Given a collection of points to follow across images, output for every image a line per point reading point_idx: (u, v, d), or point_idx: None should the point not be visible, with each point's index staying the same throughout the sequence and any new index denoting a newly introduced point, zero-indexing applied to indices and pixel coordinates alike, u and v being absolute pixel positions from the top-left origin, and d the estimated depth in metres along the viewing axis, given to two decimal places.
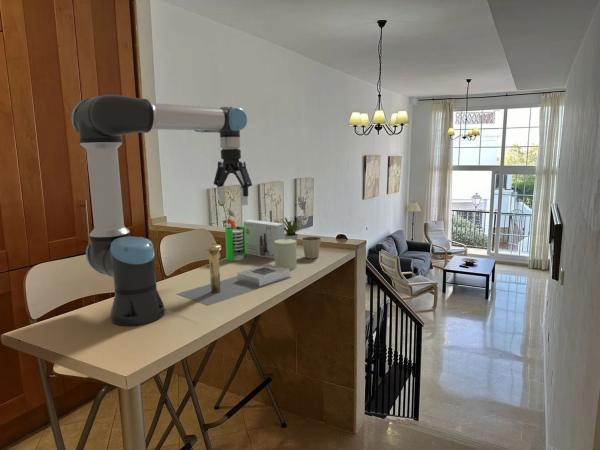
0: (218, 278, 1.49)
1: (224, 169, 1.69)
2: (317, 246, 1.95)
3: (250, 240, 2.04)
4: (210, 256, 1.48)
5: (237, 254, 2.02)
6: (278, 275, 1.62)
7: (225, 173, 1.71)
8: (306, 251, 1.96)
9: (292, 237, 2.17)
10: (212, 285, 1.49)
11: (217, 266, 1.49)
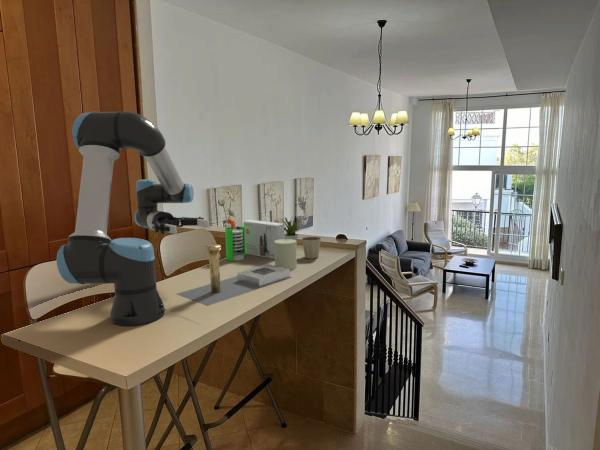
0: (218, 278, 1.49)
1: (166, 219, 1.62)
2: (317, 246, 1.95)
3: (250, 240, 2.04)
4: (210, 256, 1.48)
5: (237, 254, 2.02)
6: (278, 275, 1.62)
7: (167, 223, 1.61)
8: (306, 251, 1.96)
9: (292, 237, 2.17)
10: (212, 285, 1.49)
11: (217, 266, 1.49)
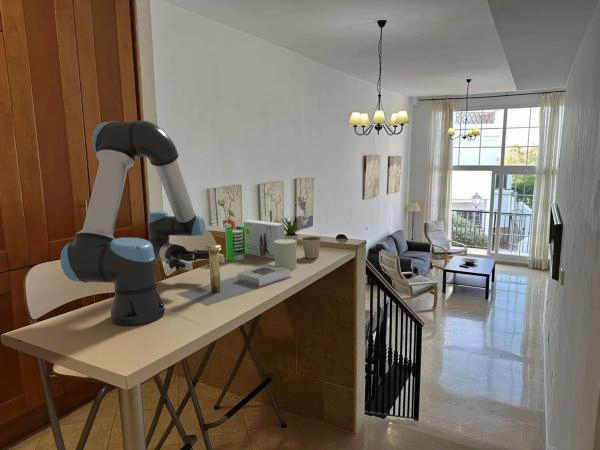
0: (218, 278, 1.49)
1: (180, 253, 1.60)
2: (317, 246, 1.95)
3: (250, 240, 2.04)
4: (210, 256, 1.48)
5: (237, 254, 2.02)
6: (278, 275, 1.62)
7: (181, 257, 1.59)
8: (306, 251, 1.96)
9: (292, 237, 2.17)
10: (212, 285, 1.49)
11: (217, 266, 1.49)
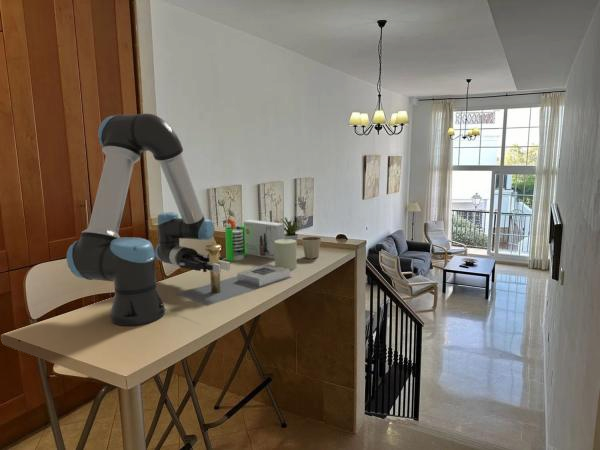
0: (218, 278, 1.49)
1: (194, 256, 1.55)
2: (317, 246, 1.95)
3: (250, 240, 2.04)
4: (210, 256, 1.48)
5: (237, 254, 2.02)
6: (278, 275, 1.62)
7: None
8: (306, 251, 1.96)
9: (292, 237, 2.17)
10: (212, 285, 1.49)
11: None
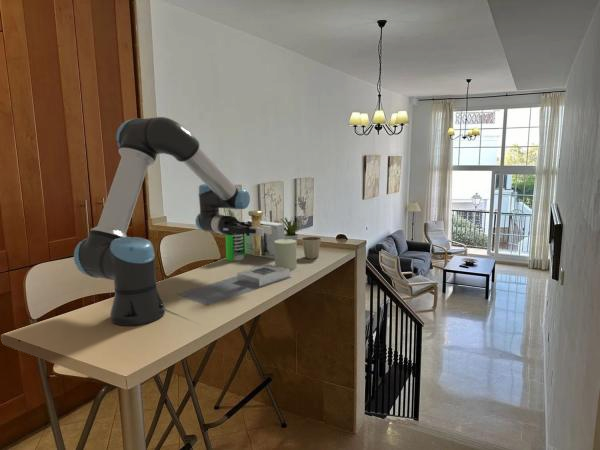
0: (260, 241, 1.61)
1: (235, 222, 1.66)
2: (317, 246, 1.95)
3: (250, 240, 2.04)
4: (253, 221, 1.59)
5: (237, 254, 2.02)
6: (278, 275, 1.62)
7: None
8: (306, 251, 1.96)
9: (292, 237, 2.17)
10: (254, 248, 1.61)
11: None
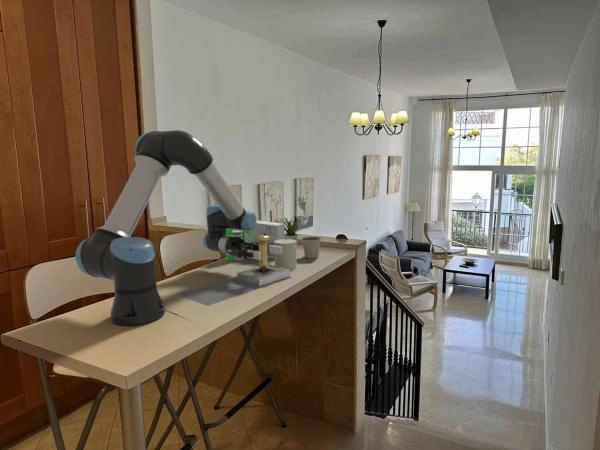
0: (266, 266, 1.64)
1: (241, 244, 1.68)
2: (317, 246, 1.95)
3: (250, 240, 2.04)
4: (260, 246, 1.62)
5: None
6: (278, 275, 1.62)
7: None
8: (306, 251, 1.96)
9: (292, 237, 2.17)
10: None
11: (266, 255, 1.63)
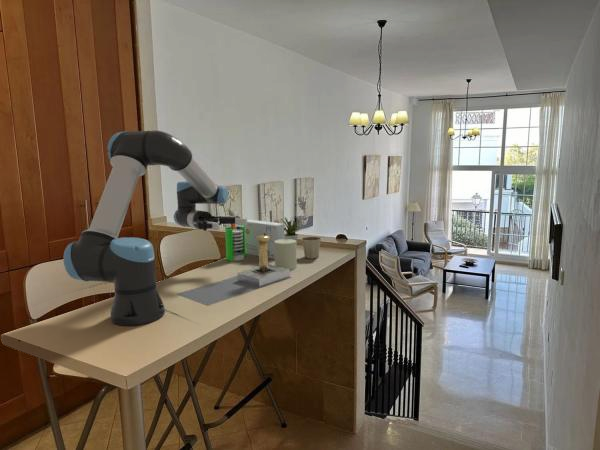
0: (267, 266, 1.63)
1: (207, 217, 1.75)
2: (317, 246, 1.95)
3: (250, 240, 2.04)
4: (260, 246, 1.62)
5: (237, 254, 2.02)
6: (278, 275, 1.62)
7: (207, 221, 1.73)
8: (306, 251, 1.96)
9: (292, 237, 2.17)
10: None
11: (266, 255, 1.63)
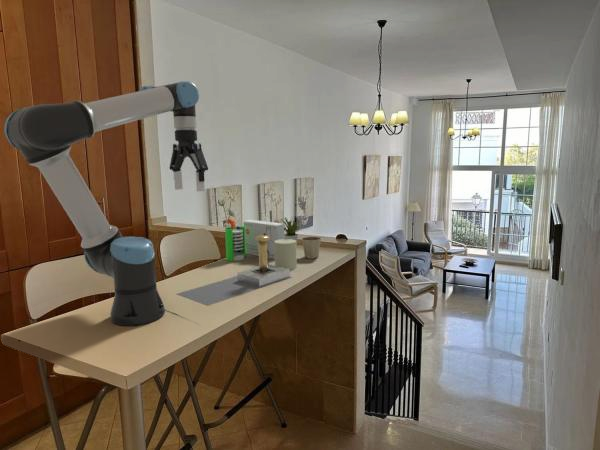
0: (266, 266, 1.63)
1: (179, 152, 1.55)
2: (317, 246, 1.95)
3: (250, 240, 2.04)
4: (259, 246, 1.61)
5: (237, 254, 2.02)
6: (278, 275, 1.62)
7: (181, 157, 1.56)
8: (306, 251, 1.96)
9: (292, 237, 2.17)
10: None
11: (266, 255, 1.62)
